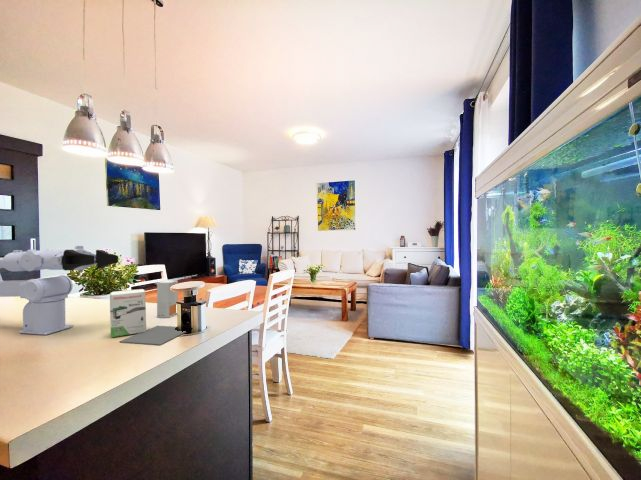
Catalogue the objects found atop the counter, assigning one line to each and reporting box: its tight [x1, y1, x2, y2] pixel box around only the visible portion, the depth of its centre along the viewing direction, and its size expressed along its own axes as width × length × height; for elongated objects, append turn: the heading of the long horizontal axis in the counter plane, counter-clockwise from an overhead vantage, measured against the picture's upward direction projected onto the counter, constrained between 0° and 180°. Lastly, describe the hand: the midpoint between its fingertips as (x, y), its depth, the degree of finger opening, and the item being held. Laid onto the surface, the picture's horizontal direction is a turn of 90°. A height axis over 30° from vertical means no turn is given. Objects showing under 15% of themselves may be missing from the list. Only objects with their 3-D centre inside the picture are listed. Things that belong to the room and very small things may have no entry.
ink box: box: [109, 288, 147, 338], centre depth 86 cm, size 9×5×12 cm, turn 123°
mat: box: [119, 325, 187, 346], centre depth 85 cm, size 12×14×1 cm
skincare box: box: [156, 279, 179, 319], centre depth 105 cm, size 6×4×12 cm
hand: (105, 259), depth 85 cm, fingers open, 7 cm apart
